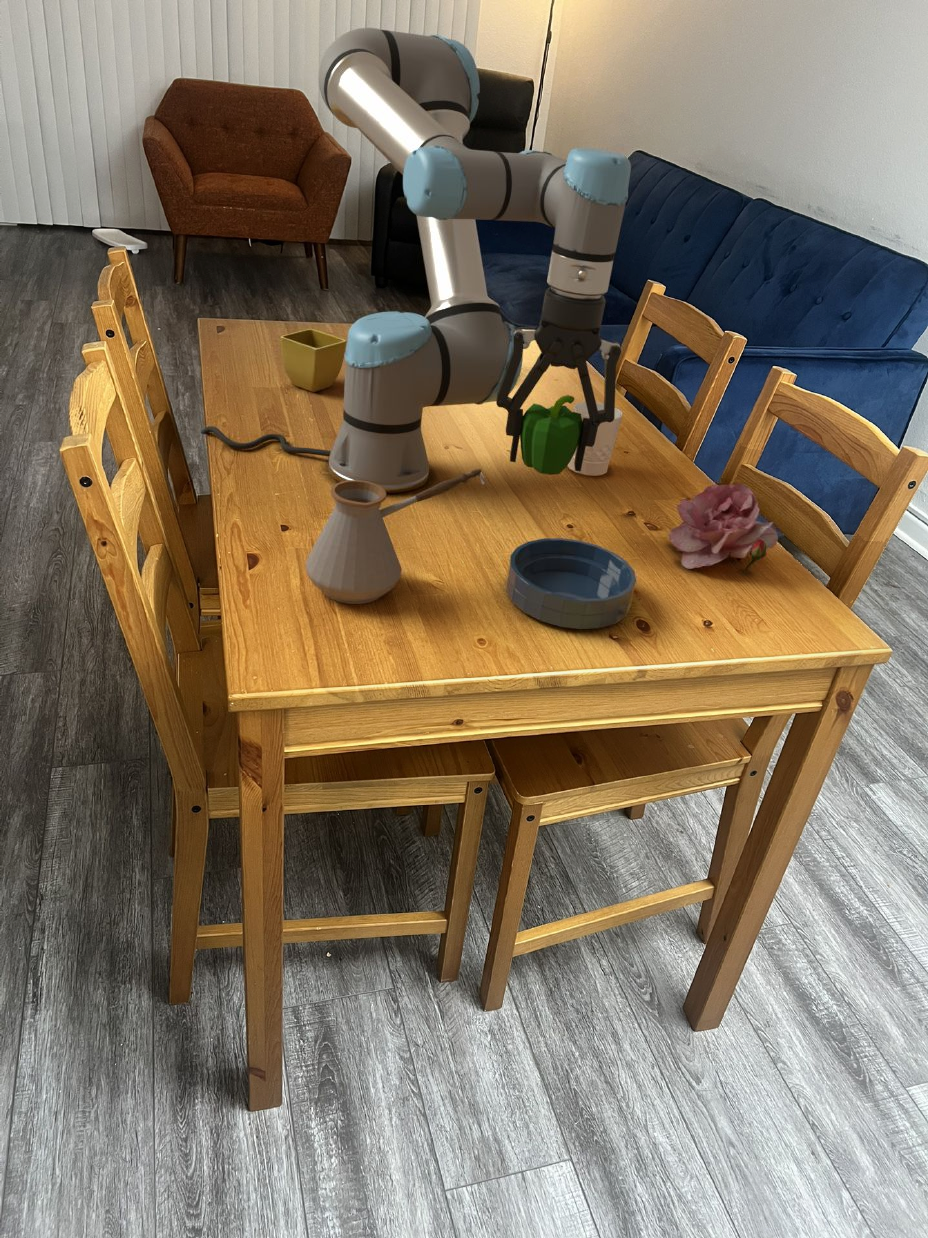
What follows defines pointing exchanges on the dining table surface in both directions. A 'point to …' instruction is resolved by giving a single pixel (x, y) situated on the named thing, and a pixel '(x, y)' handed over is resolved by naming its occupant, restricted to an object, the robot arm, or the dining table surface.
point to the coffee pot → (362, 541)
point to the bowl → (570, 583)
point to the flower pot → (312, 358)
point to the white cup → (598, 443)
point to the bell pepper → (550, 436)
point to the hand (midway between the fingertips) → (545, 462)
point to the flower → (721, 527)
